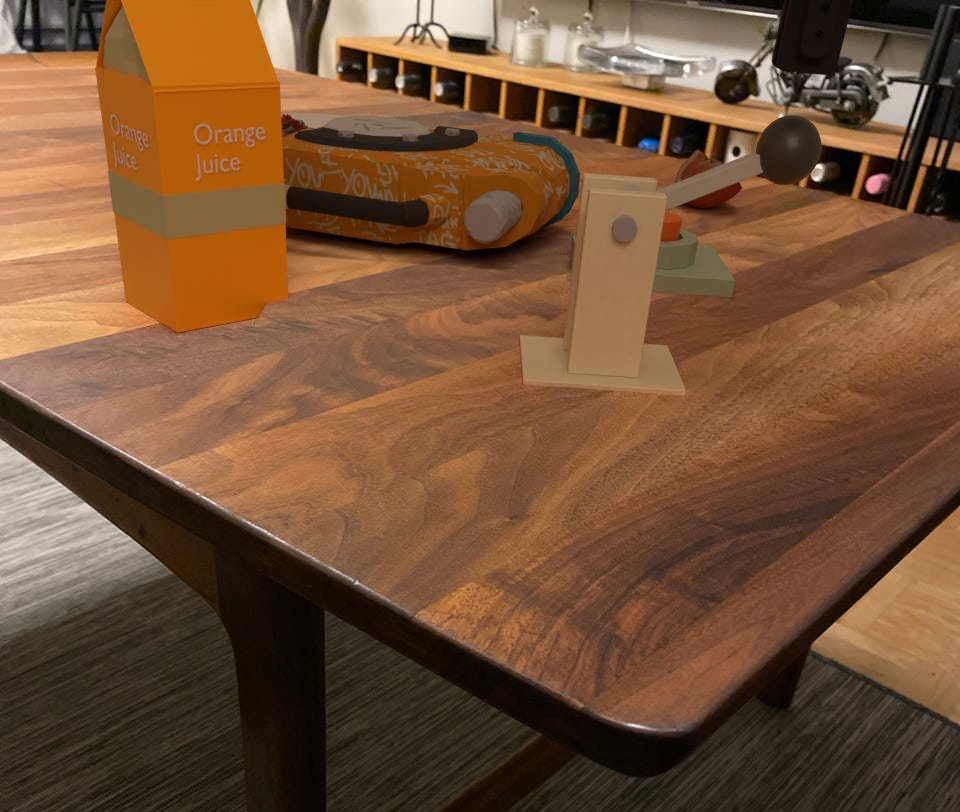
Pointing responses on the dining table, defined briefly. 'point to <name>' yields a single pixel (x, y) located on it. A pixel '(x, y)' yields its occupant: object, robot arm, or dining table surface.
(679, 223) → the button
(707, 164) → the broken clay pot piece
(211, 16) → the orange juice
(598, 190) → the lever stand
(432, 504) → the dining table surface
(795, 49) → the robot arm
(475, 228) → the orange patterned backpack
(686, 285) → the button housing
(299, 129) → the plated food
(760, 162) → the lever
